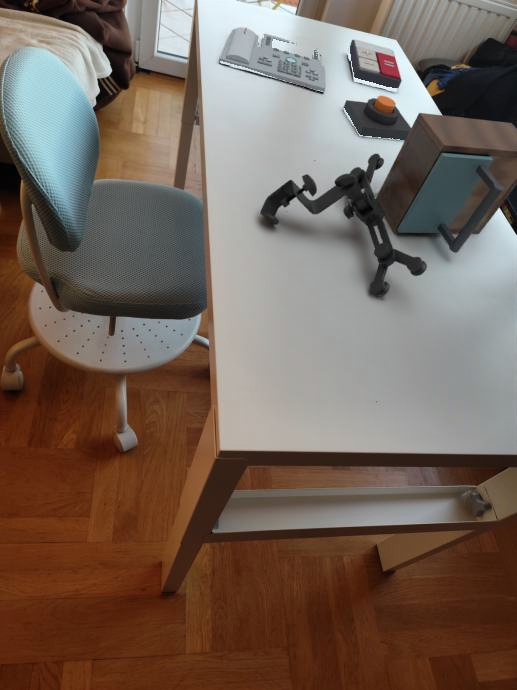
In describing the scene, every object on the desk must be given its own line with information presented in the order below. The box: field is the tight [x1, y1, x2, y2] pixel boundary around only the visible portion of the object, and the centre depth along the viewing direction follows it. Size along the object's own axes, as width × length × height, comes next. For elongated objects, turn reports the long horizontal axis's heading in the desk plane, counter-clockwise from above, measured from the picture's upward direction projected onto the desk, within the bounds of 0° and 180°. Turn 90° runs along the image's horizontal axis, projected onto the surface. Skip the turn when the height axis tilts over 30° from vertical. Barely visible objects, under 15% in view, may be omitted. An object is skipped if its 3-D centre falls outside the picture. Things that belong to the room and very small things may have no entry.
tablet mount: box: [259, 153, 428, 297], centre depth 73 cm, size 27×14×17 cm
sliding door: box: [397, 153, 504, 254], centre depth 74 cm, size 9×7×14 cm
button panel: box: [349, 39, 402, 89], centre depth 117 cm, size 11×4×15 cm
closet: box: [375, 112, 517, 235], centre depth 80 cm, size 18×8×16 cm, turn 104°
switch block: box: [343, 97, 412, 141], centre depth 101 cm, size 12×10×4 cm
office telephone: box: [218, 27, 327, 93], centre depth 109 cm, size 23×3×20 cm
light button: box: [374, 95, 397, 114], centre depth 99 cm, size 4×4×2 cm
